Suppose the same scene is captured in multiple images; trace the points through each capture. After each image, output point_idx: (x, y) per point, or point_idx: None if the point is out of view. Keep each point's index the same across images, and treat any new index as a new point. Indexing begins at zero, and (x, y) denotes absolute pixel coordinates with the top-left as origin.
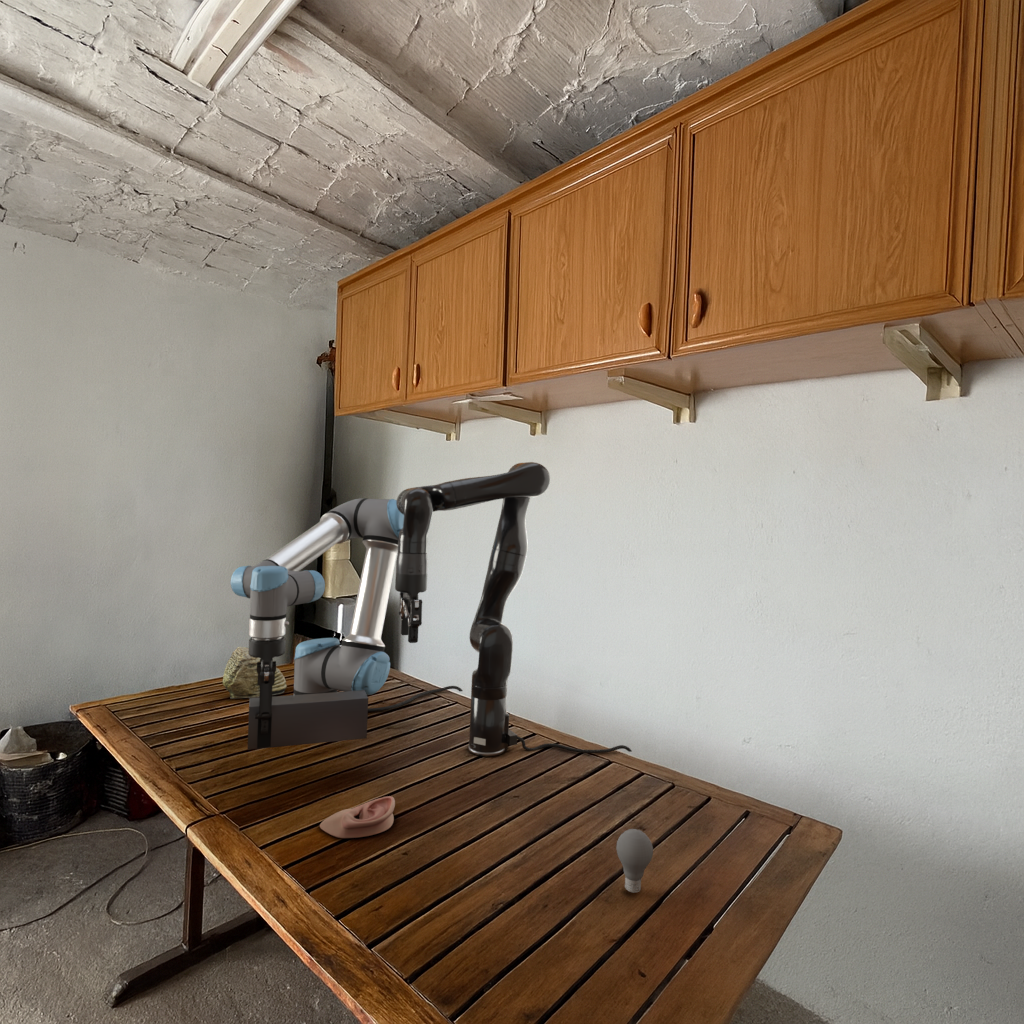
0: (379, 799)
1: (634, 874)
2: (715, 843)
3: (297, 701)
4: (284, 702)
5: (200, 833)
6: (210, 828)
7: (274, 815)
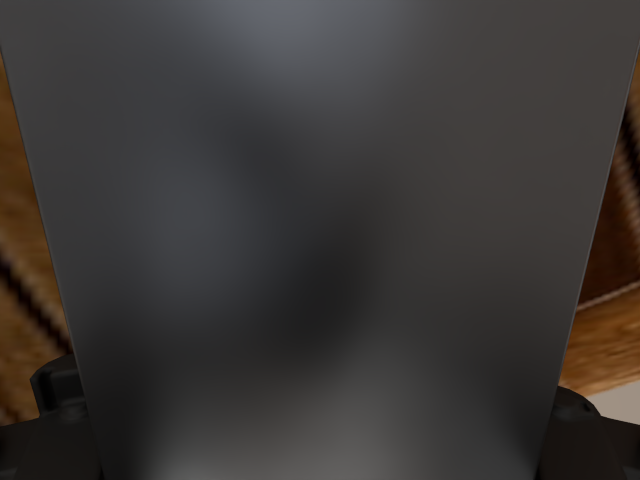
0: None
1: None
2: None
3: (502, 77)
4: (468, 323)
5: (628, 374)
6: (612, 353)
7: (630, 172)
